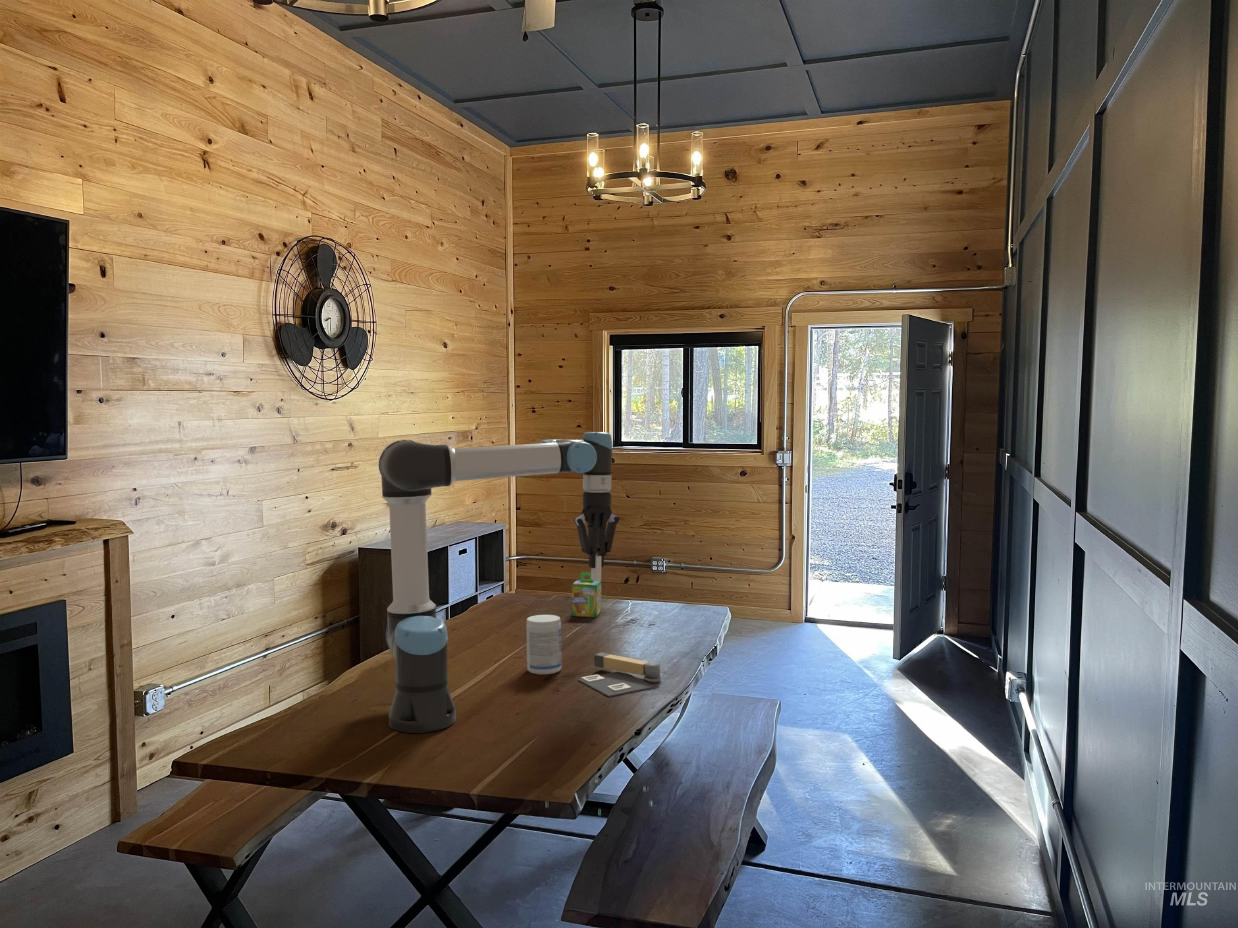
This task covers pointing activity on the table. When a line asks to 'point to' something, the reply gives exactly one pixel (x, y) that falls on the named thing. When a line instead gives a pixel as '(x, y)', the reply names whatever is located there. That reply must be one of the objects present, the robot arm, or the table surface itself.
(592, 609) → the chalk box
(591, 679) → the label
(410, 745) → the table surface
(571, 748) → the table surface
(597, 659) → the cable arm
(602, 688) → the mat
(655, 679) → the pivot post
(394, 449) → the robot arm
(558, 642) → the supplement tub
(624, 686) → the label
